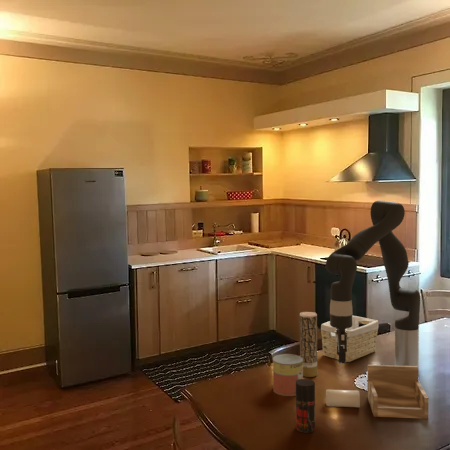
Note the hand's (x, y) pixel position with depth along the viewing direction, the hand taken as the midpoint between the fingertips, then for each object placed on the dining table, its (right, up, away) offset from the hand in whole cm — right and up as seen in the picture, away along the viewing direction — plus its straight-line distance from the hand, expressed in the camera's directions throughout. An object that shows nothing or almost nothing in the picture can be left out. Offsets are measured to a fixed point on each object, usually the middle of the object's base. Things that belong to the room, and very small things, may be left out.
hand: (341, 358), depth 178 cm
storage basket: (+16, -12, +54) cm, 58 cm away
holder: (+19, -16, -1) cm, 25 cm away
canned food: (-16, -16, +16) cm, 28 cm away
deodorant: (-15, -18, -15) cm, 28 cm away
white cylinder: (+1, -14, +1) cm, 14 cm away
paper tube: (-6, -15, +30) cm, 34 cm away
